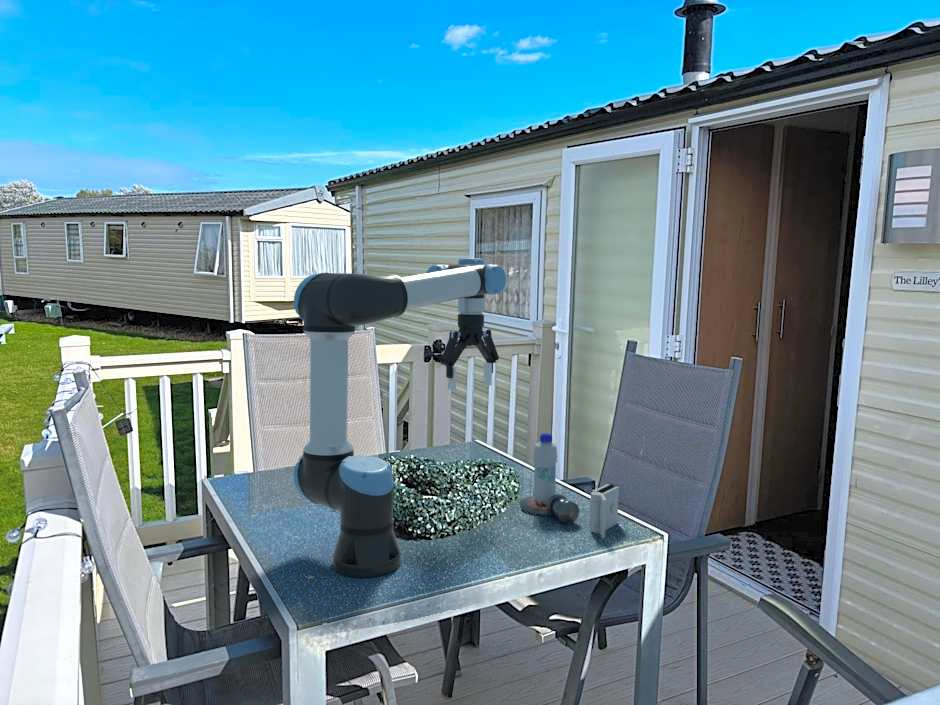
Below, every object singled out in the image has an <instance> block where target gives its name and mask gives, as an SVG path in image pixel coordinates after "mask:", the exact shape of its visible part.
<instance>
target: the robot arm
mask: <svg viewBox="0 0 940 705" xmlns="http://www.w3.org/2000/svg"><path fill="white" fill-rule="evenodd" d="M506 274H507V273H506V272H505V269H504V268H503V267H502V266H501V265H499V264H491V263H489V264H485V261H484V259H482V258H474V257H473V258H472V257H471V258H469V257H466V258H465V257H462V258H459V259H458V261H457V264H444V263H439V264H434V265H433V264H432V265H430V267H429V268H427V270H426V273H420V274H415V275H414V274H413V275H408V276H399V275H397V274H393V273H392V274H384V275H382V274H381V275H378V274H377V275H376V274H363V273H355V272H354V273H353V272H351V273H343V272H342V273H337V272H336V273H335V272H333V273H332V272H320V273H314V274H310V275H308V276H307V277H305V278H304V279H303V280H302V281H301V282H300V283H299V284H298V286H297V287H296V289H295V293H294V296H293V307H294V311H295V312H296V314H297V315H298V316H299V319H301V320H302V321H303V333H304V334H305V335H306V336H307V337H308V338H309V340H310V341H309V342H310V343H309V352H310V354H309V355H310V356H309V362H310V363H309V365H310V366H309V373H310V374H309V378H310V379H309V441H308V443H307V444H306V445H304V446H303V449H302V450H303V452H302V455H301V456H299V459H298V462H296V464H294V465H295V466H294V469H293V483H294V486H295V489H296V490H297V493H299V495H301V496H302V497H303V498H305V499H306V500H309V501H310V502H311V503H314V504H317V505H321V506H324V507H327V508H330V509H332V510H335V511H338V512H339V513H340V514H339V515H340V516H339V518H340V521H339V522H340V532H339V535H338V539H337V540H336V541H337V542H336V543H335V548H334V549H333V554H332V568H333V569H334V570H335V571H336V572H337V573H338V574H341V575H344V576H346V577H347V576H348V577H353V578H373V577H379V576H383V575H386V574H389V573H391V572H394V571H395V570H397V569H398V568H399V567H400V565H401V563H402V554H401V553H402V552H401V549H400V545H399V543H398V540H397V536H396V534H395V531H394V485H395V483H394V475H393V469H392V467H391V464H390V463H389V462H388V461H386V460H385V459H382V458H380V457H376V456H372V455H371V456H367V455H365V454H363V455H359V454H358V455H355V453H354V451H355V448H354V446H353V445H352V444H351V443H350V442H349V440H348V404H349V403H348V400H349V399H348V398H349V397H348V394H349V392H348V391H349V389H348V388H349V385H348V382H349V373H348V372H349V363H348V362H349V340H350V338H351V337H352V336H353V335H354V334H355V333H356V327H357V326H358V327H359V326H364V325H369V324H373V323H377V322H380V321H385V320H388V319H392V318H396V317H400V316H402V315H403V314H405V312H407V310H413V309H419V308H422V307H426V306H431V305H436V304H440V303H447V302H450V301H454V300H455V301H456V300H457V311H458V312H459V313H458V314H457V326H458V331H457V330H450V331H449V337H448V341H447V343H446V346H445V349H444V350H443V354H442V356H441V358H440V365H443V366H445V369H446V370H445V372H446V374H445V377H446V378H447V389H448V390H451V391H456V390H457V366H455V364H456V363H457V361H458V360H459V358H460V357H461V355H462V353H463V352H464V350H465V349H467V347H472V346H474V347H476V348H477V349H478V351H479V352H480V354H481V355H482V356H481V357H483V358H484V360H485V361H484V362H483V385H485V386H492V384H493V382H492V379H493V378H492V377H493V376H492V374H493V373H494V364H496V362H497V361H498V360H499V359H500V356H499V354H498V350H497V348H496V346H495V343H494V341H493V337H492V330H491V329H490V328H489V329H487V328H484V326H485V315H484V314H483V313H484V312H485V295H491V296H492V295H498V294H501V293H502V291H504V290H505V287H506V284H507V275H506Z"/></svg>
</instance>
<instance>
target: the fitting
mask: <svg viewBox="0 0 940 705" xmlns="http://www.w3.org/2000/svg"><path fill="white" fill-rule="evenodd" d="M520 508H521V509H522V510H524V511H526V512H528V513H527V514H529V513H531V514H530V515H533V514H536V515H535V516H539V515H553V516H552V517H555V516H557V517H556V518H558V520H559V522H561V523H562V524H564V525H570V524H569V523H571V524H573V523H575V522H576V521H577V519H578V518H579V515H580V508H579V505H578V504H577V503H576V502H574V501H573V500H568V499H567V497H565V496H564V495H562V494H560V493H556V494H555V495H553V496H552V497H551V498H550V499H549V500H548V503H547V506H546V505H545V502H542V505H539V504H536V503H535V502H534V499H533V495H532V496H527V497H524V498H523V499H521V500H520V501H519V509H520ZM521 509H520V510H521ZM522 510H521V511H522ZM524 511H523V512H524ZM526 512H525V513H526Z"/></svg>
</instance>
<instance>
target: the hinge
mask: <svg viewBox="0 0 940 705" xmlns="http://www.w3.org/2000/svg"><path fill="white" fill-rule="evenodd" d="M619 489H620V486H619V485H617V484H616V485H614V484H613V483H611V484H608V483H607V484H604V485H602V486H601V487H598V488H596V489H594V490H592V492H590V499H589V500H590V505H589V532H590V531H591V532H590V533H592V532H594V533H593V534H599V533H600V534H599V536H600V535H601V536H600V538H601V537H602V538H605V539H606V531H608V530H609V529H610V528H612V527H614V526H616V525H617V524H618V521H619V520H618V518H619V517H618V514H619V495H620V494H619ZM602 538H601V539H602Z"/></svg>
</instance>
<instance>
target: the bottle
mask: <svg viewBox="0 0 940 705" xmlns="http://www.w3.org/2000/svg"><path fill="white" fill-rule="evenodd" d="M557 449H558V448H557V444H554V443H553V436H552V434H551V433H545V432H544V433H541V434H540V436H539V442H537V443H536V444H534V449H533V455H532V456H533V462H534V469H533V470H534V471H533V473H534V474H533V478H534V479H533V491H532V496H533V499H534V502H535V503H536V504H539V505H542V502H545V505H546V506H547V503H548V500H549V499H550V498H551V497H552V496H553V495H555V494H557V491H556V469H557V468H556V467H557V462H558V452H557Z"/></svg>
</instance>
